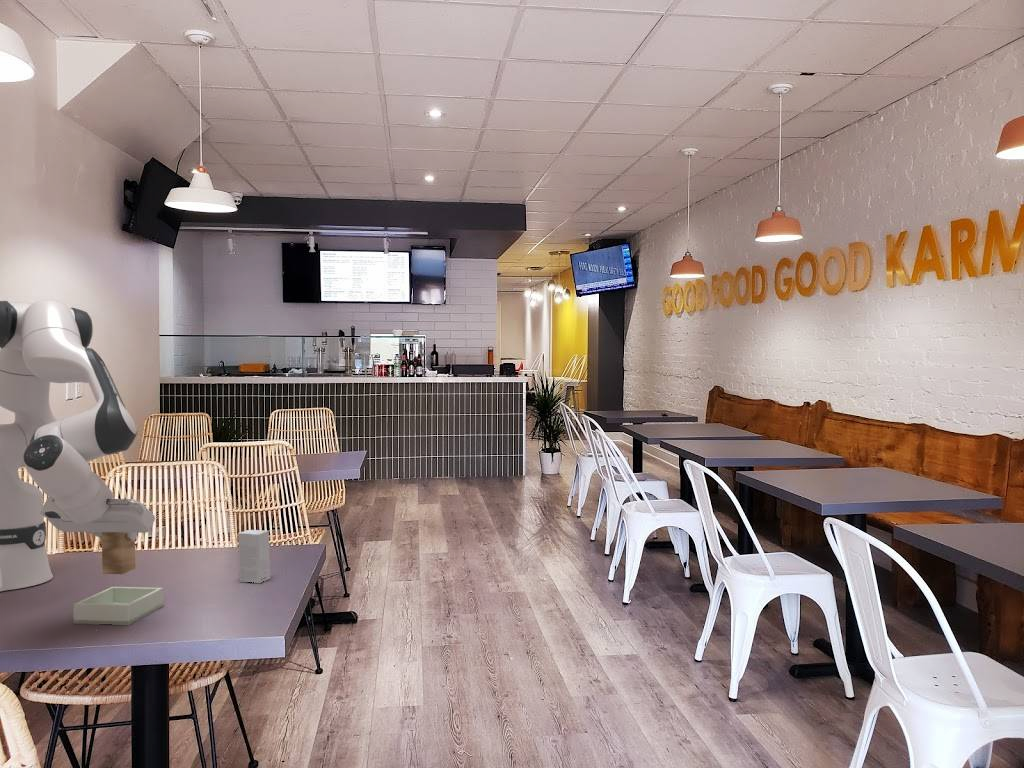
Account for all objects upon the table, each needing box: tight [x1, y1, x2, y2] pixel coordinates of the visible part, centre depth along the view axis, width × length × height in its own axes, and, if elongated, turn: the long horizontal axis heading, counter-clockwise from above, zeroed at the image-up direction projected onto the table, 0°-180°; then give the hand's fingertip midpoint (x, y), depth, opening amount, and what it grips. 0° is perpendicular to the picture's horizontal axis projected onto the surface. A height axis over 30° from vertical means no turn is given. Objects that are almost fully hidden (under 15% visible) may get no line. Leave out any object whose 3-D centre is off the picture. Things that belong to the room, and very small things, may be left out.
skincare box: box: [237, 529, 271, 584], centre depth 179 cm, size 6×4×12 cm
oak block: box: [101, 532, 137, 575], centre depth 155 cm, size 4×4×10 cm
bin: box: [73, 586, 165, 626], centre depth 156 cm, size 12×12×4 cm
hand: (120, 537), depth 156 cm, fingers closed on oak block, 4 cm apart
